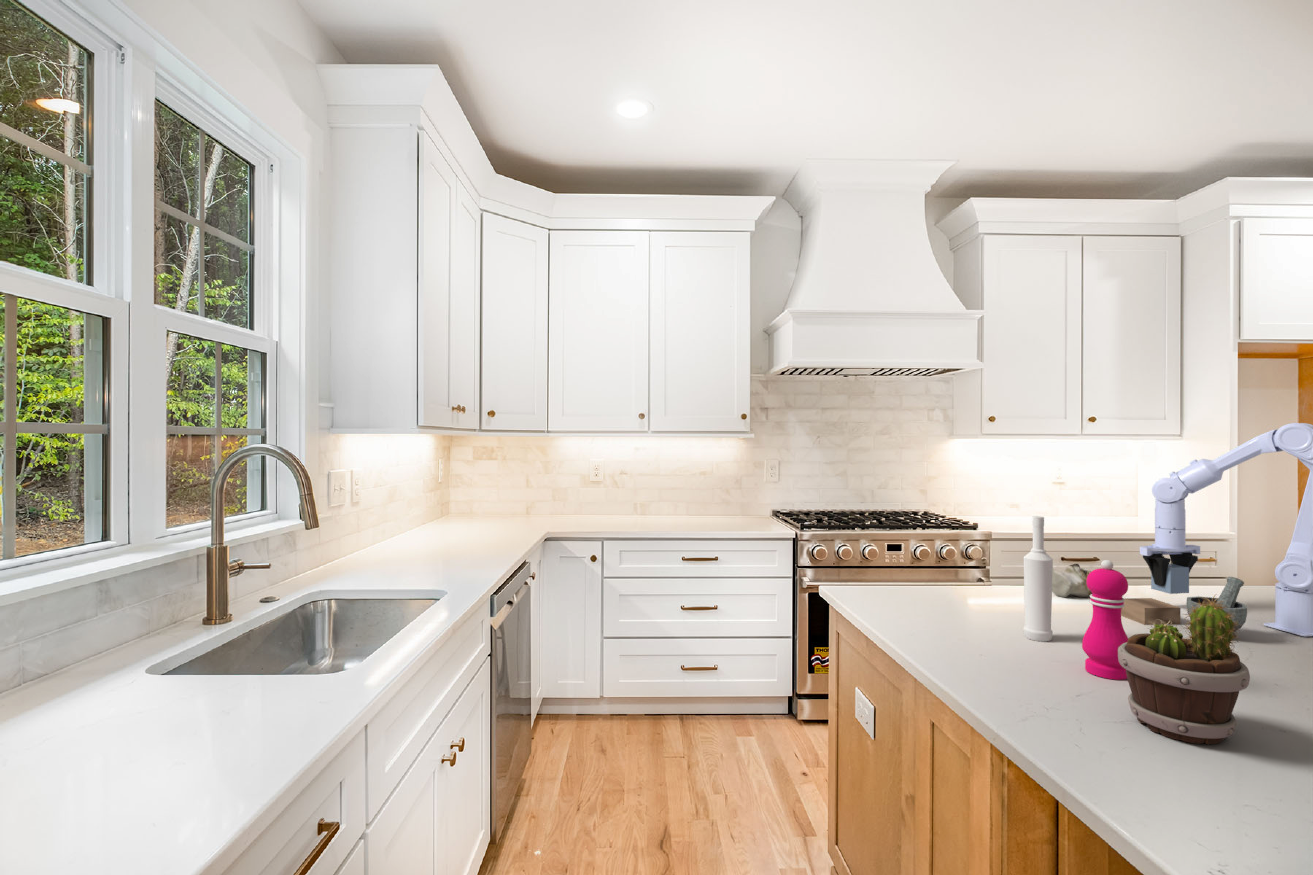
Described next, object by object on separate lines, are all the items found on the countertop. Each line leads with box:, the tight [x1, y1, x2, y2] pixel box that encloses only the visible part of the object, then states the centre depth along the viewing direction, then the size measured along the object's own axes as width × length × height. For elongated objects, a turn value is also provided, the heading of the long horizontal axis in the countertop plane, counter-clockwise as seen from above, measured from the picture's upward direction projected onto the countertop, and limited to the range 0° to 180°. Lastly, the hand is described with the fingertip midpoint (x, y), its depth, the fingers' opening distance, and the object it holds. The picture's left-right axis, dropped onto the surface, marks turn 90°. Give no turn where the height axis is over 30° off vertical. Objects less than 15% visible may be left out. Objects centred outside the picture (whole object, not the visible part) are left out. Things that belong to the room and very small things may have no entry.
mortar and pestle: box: [1186, 576, 1248, 641], centre depth 133 cm, size 11×9×12 cm
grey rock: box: [1052, 563, 1092, 598], centre depth 164 cm, size 11×9×15 cm
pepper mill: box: [1081, 559, 1129, 681], centre depth 112 cm, size 7×7×20 cm
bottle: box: [1022, 515, 1054, 643], centre depth 131 cm, size 5×5×25 cm
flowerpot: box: [1118, 595, 1251, 745], centre depth 91 cm, size 14×15×20 cm
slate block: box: [1150, 563, 1190, 595], centre depth 153 cm, size 5×5×6 cm
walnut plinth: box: [1121, 597, 1181, 626], centre depth 144 cm, size 8×8×4 cm
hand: (1169, 584), depth 153 cm, fingers closed on slate block, 5 cm apart
